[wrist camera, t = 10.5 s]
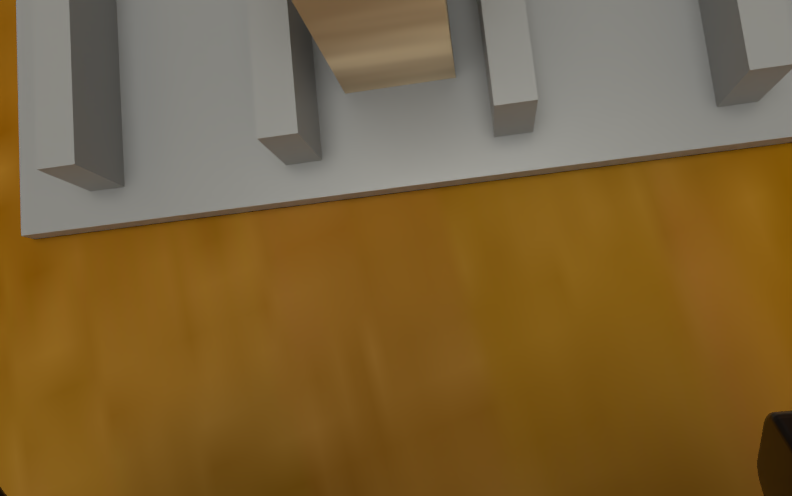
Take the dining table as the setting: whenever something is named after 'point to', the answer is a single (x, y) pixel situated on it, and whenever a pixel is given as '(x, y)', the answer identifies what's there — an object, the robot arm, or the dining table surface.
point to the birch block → (381, 40)
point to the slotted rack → (371, 102)
